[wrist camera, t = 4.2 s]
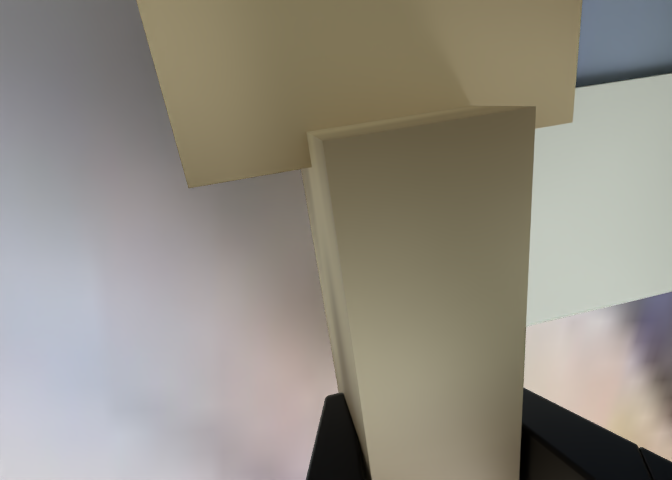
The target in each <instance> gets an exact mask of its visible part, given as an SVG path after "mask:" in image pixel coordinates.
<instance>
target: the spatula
mask: <svg viewBox="0 0 672 480" xmlns="http://www.w3.org/2000/svg"><path fill="white" fill-rule="evenodd" d="M136 1H137V5H138V8H139V12H140V16H141V19H142V23H143V26H144V30H145V34H146V37H147V41H148V44H149V48H150V52H151V55H152V59H153V62H154V66H155V70H156V73H157V77H158V80H159V84H160V87H161V91H162V95H163V98H164V102H165V105H166V109H167V113H168V116H169V120H170V123H171V127H172V131H173V134H174V138H175V141H176V145H177V149H178V152H179V156H180V159H181V163H182V166H183V170H184V174H185V177H186V181H187V184H188V188H193V187H199V186H205V185H211V184H216V183H222V182H228V181H234V180H240V179H246V178H251V177H257V176H263V175H269V174H275V173H281V172H286V171H292V170H298V169H301V173H302V179H303V185H304V191H305V196H306V202H307V208H308V214H309V220H310V226H311V232H312V238H313V244H314V250H315V255H316V261H317V267H318V273H319V279H320V285H321V291H322V297H323V303H324V309H325V314H326V320H327V326H328V332H329V338H330V344H331V350H332V356H333V362H334V368H335V373H336V379H337V385H338V391H339V393H341V392H342V393H344V396H345V399H346V402H347V405H348V408H349V411H350V414H351V417H352V420H353V423H354V426H355V429H356V432H357V435H358V438H359V441H360V447H361V453H362V460H363V466H364V473H365V479H366V480H519V469H520V448H521V426H522V404H523V382H524V360H525V338H526V316H527V295H528V273H529V251H530V229H531V207H532V185H533V163H534V142H535V129H537V128H543V127H549V126H555V125H560V124H566V123H572V122H573V112H574V99H575V86H576V74H577V61H578V48H579V36H580V23H581V10H582V0H136Z"/></svg>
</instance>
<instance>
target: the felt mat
mask: <svg viewBox="0 0 672 480" xmlns="http://www.w3.org/2000/svg"><path fill="white" fill-rule="evenodd" d="M668 292H672V73H667V74H661V75H654V76H648V77H641V78H635V79H628V80H622V81H615V82H609V83H602V84H596V85H589V86H582V87H576V88H575V99H574V112H573V122H572V123H566V124H560V125H555V126H549V127H543V128H537V129H535V142H534V163H533V185H532V207H531V229H530V251H529V273H528V295H527V316H526V327H527V326H531V325H535V324H539V323H543V322H547V321H551V320H556V319H560V318H564V317H568V316H572V315H576V314H581V313H585V312H589V311H593V310H597V309H601V308H605V307H610V306H614V305H618V304H622V303H626V302H630V301H635V300H639V299H643V298H647V297H651V296H655V295H659V294H664V293H668Z"/></svg>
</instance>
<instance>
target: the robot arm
mask: <svg viewBox="0 0 672 480" xmlns="http://www.w3.org/2000/svg"><path fill="white" fill-rule="evenodd" d="M306 480H366V479H365V473H364V466H363V460H362V453H361V447H360V441H359V438H358V435H357V432H356V429H355V426H354V423H353V420H352V417H351V414H350V411H349V408H348V405H347V402H346V399H345V396H344V393H342V392H341V393H337V394H333V395H329V396H327V397H326V398H325V401H324V406H323V410H322V414H321V418H320V422H319V427H318V431H317V435H316V439H315V444H314V448H313V452H312V456H311V460H310V465H309V469H308V473H307V477H306ZM519 480H672V462H671V461H669V460H667V459H665V458H663V457H661V456H659V455H657V454H655V453H653V452H651V451H649V450H647V449H645V448H643V447H640V448H638V446H637V445H636V444H634V443H632V442H631V441H629V440H627V439H625V438H623V437H621V436H619V435H617V434H615V433H613V432H611V431H609V430H607V429H605V428H603V427H601V426H599V425H597V424H595V423H593V422H591V421H589V420H587V419H585V418H583V417H581V416H579V415H577V414H575V413H573V412H571V411H569V410H567V409H565V408H563V407H561V406H559V405H557V404H555V403H553V402H551V401H549V400H547V399H545V398H543V397H541V396H539V395H537V394H535V393H533V392H531V391H529V390H527V389H525V388H523V404H522V426H521V448H520V469H519Z"/></svg>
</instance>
